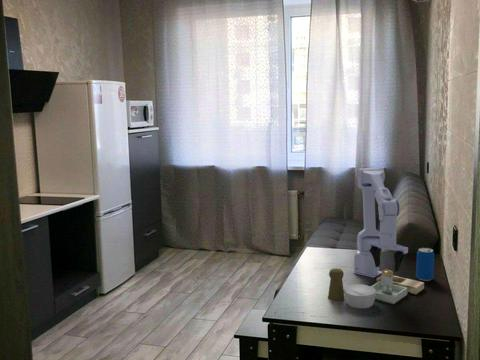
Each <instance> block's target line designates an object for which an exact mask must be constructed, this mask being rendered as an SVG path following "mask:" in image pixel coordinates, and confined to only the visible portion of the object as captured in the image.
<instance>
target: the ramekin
mask: <svg viewBox="0 0 480 360" xmlns="http://www.w3.org/2000/svg"><path fill="white" fill-rule="evenodd" d="M371 286H372V285H370V286H369V285H367V284H363V283H362V284H358V283H357V284H356V283H355V284H349V285H346V286H345V287H343V290H344V297H345V299H344V300H345V303H346V304H347V305H348V306H349V307H351V308H354V309H369V308H371V307H372V306H373V305H374V304H375V300H376V299H375V295H376V290H375V288H373V287H371Z"/></svg>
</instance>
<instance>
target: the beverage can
mask: <svg viewBox="0 0 480 360" xmlns="http://www.w3.org/2000/svg"><path fill="white" fill-rule="evenodd" d="M434 268H435V252H434V249H432V248H430V247H421V248H418V250H417V252H416V268H415V269H416V270H415V271H416V272H415V277H416V278H417V279H418V281H421V282H423V281H424V282H429V281H432V280H434Z"/></svg>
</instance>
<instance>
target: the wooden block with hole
mask: <svg viewBox="0 0 480 360" xmlns="http://www.w3.org/2000/svg"><path fill="white" fill-rule="evenodd" d="M379 281H381V282H382V274H380V275H379V276H377V278H376V283H377V282H379ZM393 285H397V286H402V287H406V288H407V293H409V292H410V294H413V295H417V294H419V293H420V292H421V291H423V290H424V289H425V281H424V282H423V281H421V280H415V279H412V278H411V279H410V278H406V277H401V276H398V275H394V274H393Z"/></svg>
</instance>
